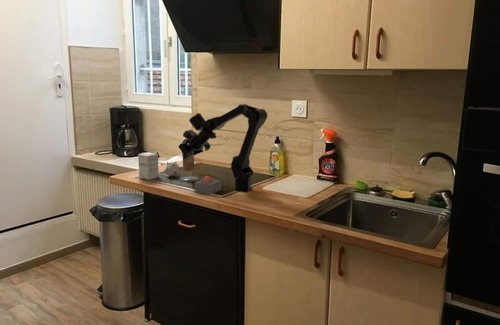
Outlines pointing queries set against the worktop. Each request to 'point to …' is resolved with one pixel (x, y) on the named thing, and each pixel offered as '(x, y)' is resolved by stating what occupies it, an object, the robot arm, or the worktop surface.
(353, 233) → the worktop surface
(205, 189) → the button housing
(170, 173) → the white crumpled paper
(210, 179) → the dome button
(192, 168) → the brown tapered cup
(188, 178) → the slate coaster
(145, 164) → the supplement box
